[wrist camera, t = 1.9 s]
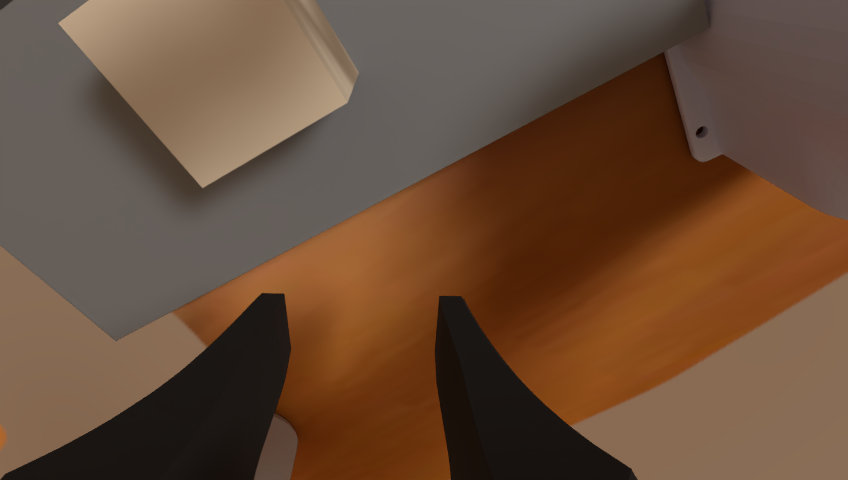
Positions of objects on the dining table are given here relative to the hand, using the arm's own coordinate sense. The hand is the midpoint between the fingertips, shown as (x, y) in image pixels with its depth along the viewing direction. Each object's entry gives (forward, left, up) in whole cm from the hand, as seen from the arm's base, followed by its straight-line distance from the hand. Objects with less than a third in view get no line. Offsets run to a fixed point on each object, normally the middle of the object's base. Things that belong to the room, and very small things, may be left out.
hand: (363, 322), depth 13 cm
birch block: (+8, 0, -6) cm, 10 cm away
